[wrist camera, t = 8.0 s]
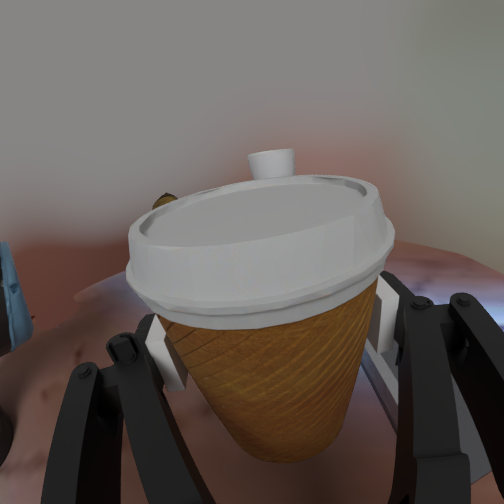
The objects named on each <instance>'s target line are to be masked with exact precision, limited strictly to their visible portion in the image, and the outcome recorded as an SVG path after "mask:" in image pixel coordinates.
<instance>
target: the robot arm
mask: <svg viewBox="0 0 504 504" xmlns="http://www.w3.org/2000/svg"><path fill="white" fill-rule="evenodd" d="M32 334H33V323H32V320H31V317H30V314H29V311H28V308H27V304H26V302H25V298H24V295H23V292H22V289H21V286H20V282H19V279H18V275H17V272H16V268H15V264H14V261H13V257H12V253H11V250H10V247H9V244H8V243H7V242H0V357H1V356H3V355H5V354H7V353H9V352H13V351H14V350H15V348H16V347H18V346H20V345H21V344H23V343H24V342H26V341H28V340H29V339H30V338H31V336H32ZM367 338H368V340H369V342H370V343H371V345H372V347H373V348H374V350H375V352H376V353H377V354H379V353H383V352H386V351H389V350H392V349H393V344H394V339H395V341H396V342H397V343H398V345H399V346H398V352H397V357H396V363H395V366H397V365H398V425H397V443H396V457H395V467H394V476H393V485H392V491H391V495H390V498H389V501H388V504H471V474H470V461H469V457H468V455H467V454H465V453H462V452H461V448H460V437H459V426H458V417H457V409H456V402H455V395H454V389H453V383H452V377H451V374H452V376H453V378H454V380H455V382H456V384H457V386H458V388H459V390H460V392H461V395H462V397H463V399H464V401H465V403H466V405H467V408H468V410H469V412H470V414H471V417H472V419H473V421H474V424H475V426H476V429H477V431H478V434H479V436H480V439H481V441H482V444H483V446H484V449H485V452H486V455H487V457H488V460H489V463H490V466H491V469H492V472H493V475H494V478H495V481H496V483H497V486H498V489H499V491H500V493H501V495H502V497H503V499H504V332H503V331H502V329H501V328H500V327H499V326H498V324H497V323H496V322H495V321H494V319H493V318H492V317H491V316H490V315H489V313H488V312H487V311H486V310H485V309H484V307H483V306H482V305H481V304H480V303H479V302H478V300H477V299H476V298H475V297H473V296H472V295H470V294H468V293H456V294H453V295H452V296H451V298H450V303H449V304H443V305H434V303H433V302H432V300H430V299H429V298H426V297H423V296H415V295H414V294H413V293H412V292H411V291H410V290H409V289H408V288H407V287H406V286H405V285H403V283H401V282H400V281H399V280H398V279H397V278H396V277H395V276H394V275H393V274H391V273H389V272H386V271H382V272H381V273H380V274H379V276H378V284H377V289H376V294H375V301H374V305H373V310H372V316H371V320H370V326H369V330H368V334H367ZM467 340H468V341H467ZM106 349H107V351H108V353H109V355H110V357H111V359H112V361H113V362H114V365H113V366H110V367H106V368H103V369H99V368H98V367H97V365H96V364H95V363H93V362H86V363H82V364H80V365H78V366H77V367H76V368H75V369H74V370H73V372H72V373H71V376H70V379H69V382H68V385H67V388H66V392H65V395H64V398H63V402H62V405H61V409H60V412H59V416H58V419H57V423H56V427H55V431H54V435H53V439H52V443H51V448H50V452H49V457H48V462H47V467H46V472H45V478H44V484H43V490H42V497H41V504H121V450H122V433H123V419H125V424H126V428H127V432H128V436H129V440H130V444H131V448H132V452H133V455H134V459H135V462H136V466H137V469H138V472H139V476H140V479H141V482H142V485H143V488H144V491H145V494H146V497H147V500H148V502H149V504H216V503H215V501H214V499H213V497H212V496H211V494H210V492H209V490H208V488H207V486H206V484H205V482H204V481H203V479H202V477H201V475H200V473H199V471H198V469H197V467H196V465H195V463H194V461H193V459H192V457H191V454H190V452H189V450H188V448H187V446H186V444H185V441H184V439H183V437H182V435H181V433H180V430H179V428H178V426H177V423H176V421H175V419H174V416H173V414H172V411H171V409H170V406H169V404H168V401H167V399H166V396H165V394H164V393H163V391H162V390H163V385H164V384H165V386H166V388H167V390H168V391H181V390H185V389H186V382H187V375H188V370H187V368H186V367H185V365H184V363H183V361H182V360H181V358H180V356H179V355H178V353H177V351H176V350H175V348H174V346H173V344H172V343H171V341H170V339H169V338H168V336H167V334H166V332H165V330H164V329H163V327H162V325H161V323H160V321H159V319H158V318H157V316H156V314H149V315H146V316H145V317H144V318H143V319H142V320H141V321H140V323H139V325H138V327H137V330H136V332H135V334H133V333H127V332H125V333H121V334H118V335H116V336H114V337H113V338H111V339H110V340H109V341H108V343H107V344H106ZM11 440H12V423H11V420H10V418H9V416H8V415H7V413H6V412H5V411H4V410H3V409H2V407H1V406H0V465H1V463H2V462H3V460H4V459H5V457H6V455H7V453H8V450H9V448H10V444H11Z"/></svg>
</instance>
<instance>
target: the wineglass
mask: <svg viewBox="0 0 504 504" xmlns="http://www.w3.org/2000/svg"><path fill="white" fill-rule="evenodd" d="M247 158H248V162H249V167H250V170H251V174H252V177H253V180H257V179H264V178H273V177H284V176H295V155H294V149H281V150H272V151H265V152H259V153H254V154H250V155H247Z"/></svg>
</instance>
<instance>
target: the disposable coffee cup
mask: <svg viewBox="0 0 504 504" xmlns="http://www.w3.org/2000/svg"><path fill="white" fill-rule="evenodd" d="M128 237H129V250H130V260H129V262H128V265H127V267H126V279H127V282H128V284H129V286H130V287H131V288H132V289H133V290H134V291H135V293H136V294H137V295H138V296H139V297H140V298H141V299H143V301H144V302H145V303H146V304H147V305H148V306H149V308H150V309H151V310H152V311H153V312H155V314H156V316H157V318H158V319H159V321H160V323H161V325H162V327H163V329H164V330H165V332H166V334H167V336H168V338H169V339H170V341H171V343H172V344H173V346H174V348H175V350H176V351H177V353H178V355H179V356H180V358H181V360H182V361H183V363H184V365H185V367H186V368H187V370H188V371H189V373H190V375H191V376H192V378H193V379H194V381H195V383H196V384H197V386H198V387H199V389H200V390H201V392H202V394H203V395H204V396H205V398H206V400H207V401H208V403H209V404H210V406H211V407H212V409H213V410H214V411H215V413H216V414H217V416H218V417H219V419H220V420H221V422H222V423H223V424H224V426H225V427H226V429H227V430H228V431H229V433H230V434H231V436H232V437H233V438H234V440H235V441H236V442H237V444H238V445H239V446H240V447H241V448H242V449H243V450H244V451H245V452H247V453H248V454H250V455H251V456H253V457H255V458H258V459H260V460H263V461H268V462H273V463H292V462H298V461H302V460H305V459H308V458H311V457H313V456H315V455H317V454H318V453H320V452H322V451H323V450H324V449H326V448H327V447H328V446H329V445H330V444H331V443H332V442H333V441H334V439H335V438H336V437H337V435H338V434H339V432H340V430H341V428H342V424H343V421H344V418H345V415H346V411H347V408H348V405H349V402H350V399H351V395H352V392H353V389H354V385H355V382H356V378H357V375H358V371H359V367H360V363H361V359H362V355H363V352H364V347H365V343H366V339H367V334H368V330H369V326H370V320H371V316H372V310H373V305H374V301H375V294H376V289H377V284H378V276H379V274H380V273H381V272H382V270H383V269H384V265H385V261H386V258H387V256H388V254H389V253H390V251H391V250H392V248H393V247H394V237H395V230H394V228H393V225H392V222H391V221H390V220H389V219H388V218H387V217H386V216H385V215H384V211H383V207H382V203H381V200H380V196H379V192H378V189H377V188H376V187H375V186H374V185H372V184H370V183H369V182H366V181H363V180H360V179H356V178H351V177H345V176H331V175H296V176H284V177H273V178H264V179H257V180H251V181H245V182H240V183H234V184H230V185H226V186H222V187H217V188H213V189H209V190H205V191H201V192H198V193H195V194H192V195H189V196H186V197H183V198H180V199H177V200H174V201H172V202H169V203H167V204H165V205H162V206H160V207H157V208H156V209H154V210H152V211H150V212H148V213H147V214H145V215H143V216H142V217H140V218H139V219H138V220H137V221H136V222H135V223H134V224H132V225H131V227H130V231H129V234H128Z"/></svg>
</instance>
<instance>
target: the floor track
mask: <svg viewBox="0 0 504 504" xmlns="http://www.w3.org/2000/svg"><path fill="white" fill-rule="evenodd" d="M467 341H468V340H467ZM398 346H399V345H398V343H397V342H396V341H395V339H394V344H393V349H392V350H389V351H386V352H383V353H379V354H377V353H376V352H375V350H374V348H373V347H372V345H371V343H370V342H369V340H368V338H367V339H366V343H365V347H364V352H363V355H362V359H361V363H360V364H361V366H362V367H363V369H364V371H365V373H366V375H367V377H368V379H369V381H370V383H371V385H372V387H373V389H374V390H375V392H376V394H377V396H378V398H379V400H380V402H381V404H382V406H383V408H384V410H385V412H386V414H387V416H388V418H389V420H390V422H391V424H392V426H393V428H394V430H395V432H396V434H397V425H398V365H397V366H395V363H396V357H397V352H398ZM451 377H452V383H453V389H454V395H455V402H456V409H457V417H458V426H459V437H460V448H461V452H462V453H465V454H467V455H468V457H469V461H470V474H471V485H472V484H473V483H475V482H476V481H478V480H479V479H481V478H482V477H484V476H485V475H487V474H488V473H490V472H491V471H492V469H491V466H490V463H489V460H488V457H487V455H486V452H485V449H484V446H483V444H482V441H481V439H480V436H479V434H478V431H477V429H476V426H475V424H474V421H473V419H472V417H471V414H470V412H469V410H468V408H467V405H466V403H465V401H464V399H463V397H462V395H461V392H460V390H459V388H458V386H457V384H456V382H455V380H454V378H453V376H452V374H451Z"/></svg>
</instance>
